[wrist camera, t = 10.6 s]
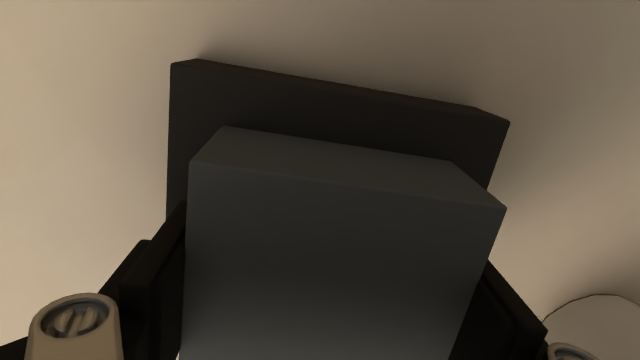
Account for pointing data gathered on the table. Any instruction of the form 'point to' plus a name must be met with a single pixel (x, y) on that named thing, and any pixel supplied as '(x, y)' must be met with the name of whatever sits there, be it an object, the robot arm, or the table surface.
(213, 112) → the black pad
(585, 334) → the white cup
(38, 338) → the robot arm
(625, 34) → the table surface
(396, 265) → the grey pad
